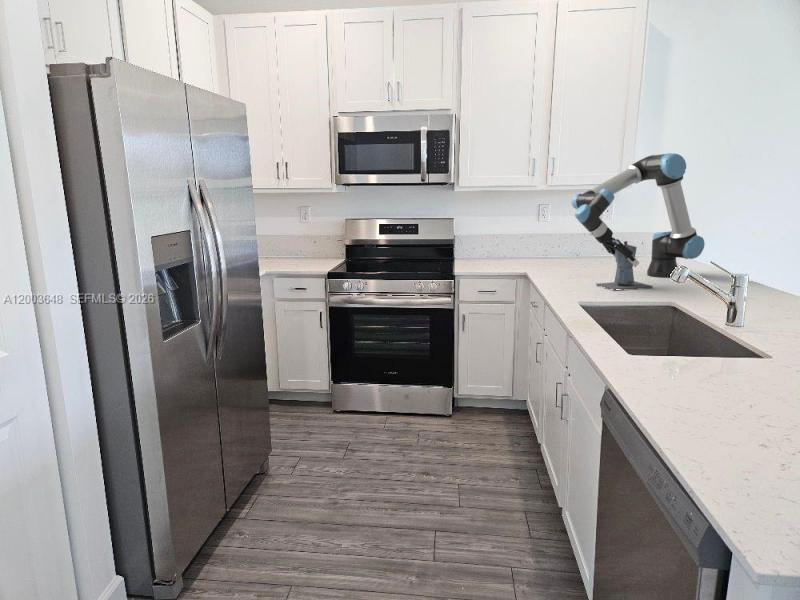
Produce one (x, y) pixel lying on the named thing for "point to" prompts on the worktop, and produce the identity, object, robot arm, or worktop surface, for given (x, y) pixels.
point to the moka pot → (624, 266)
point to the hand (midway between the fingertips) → (630, 263)
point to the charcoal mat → (624, 285)
